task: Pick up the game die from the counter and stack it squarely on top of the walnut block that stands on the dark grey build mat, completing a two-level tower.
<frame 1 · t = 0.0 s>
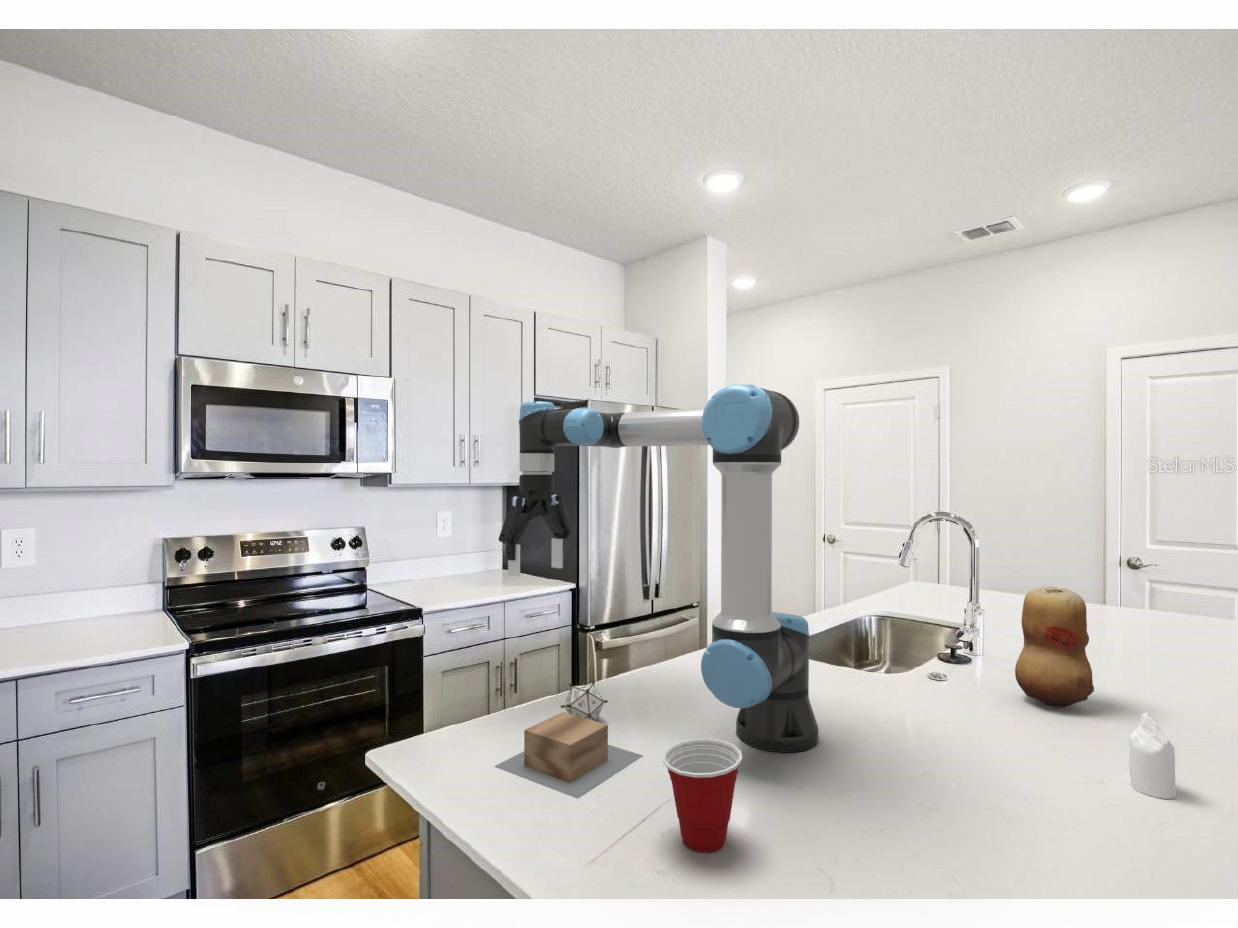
hand: (536, 571, 141), 28 cm above the counter, tool pointing down, fingers open, 13 cm apart
plastic cup: (701, 842, 88), on the counter
game die: (583, 725, 128), on the counter
walnut block: (566, 762, 110), point 1 cm above the counter, touching build mat
butternut squash: (1053, 705, 139), on the counter
build mat: (570, 764, 111), on the counter
white pouch: (1151, 791, 103), on the counter
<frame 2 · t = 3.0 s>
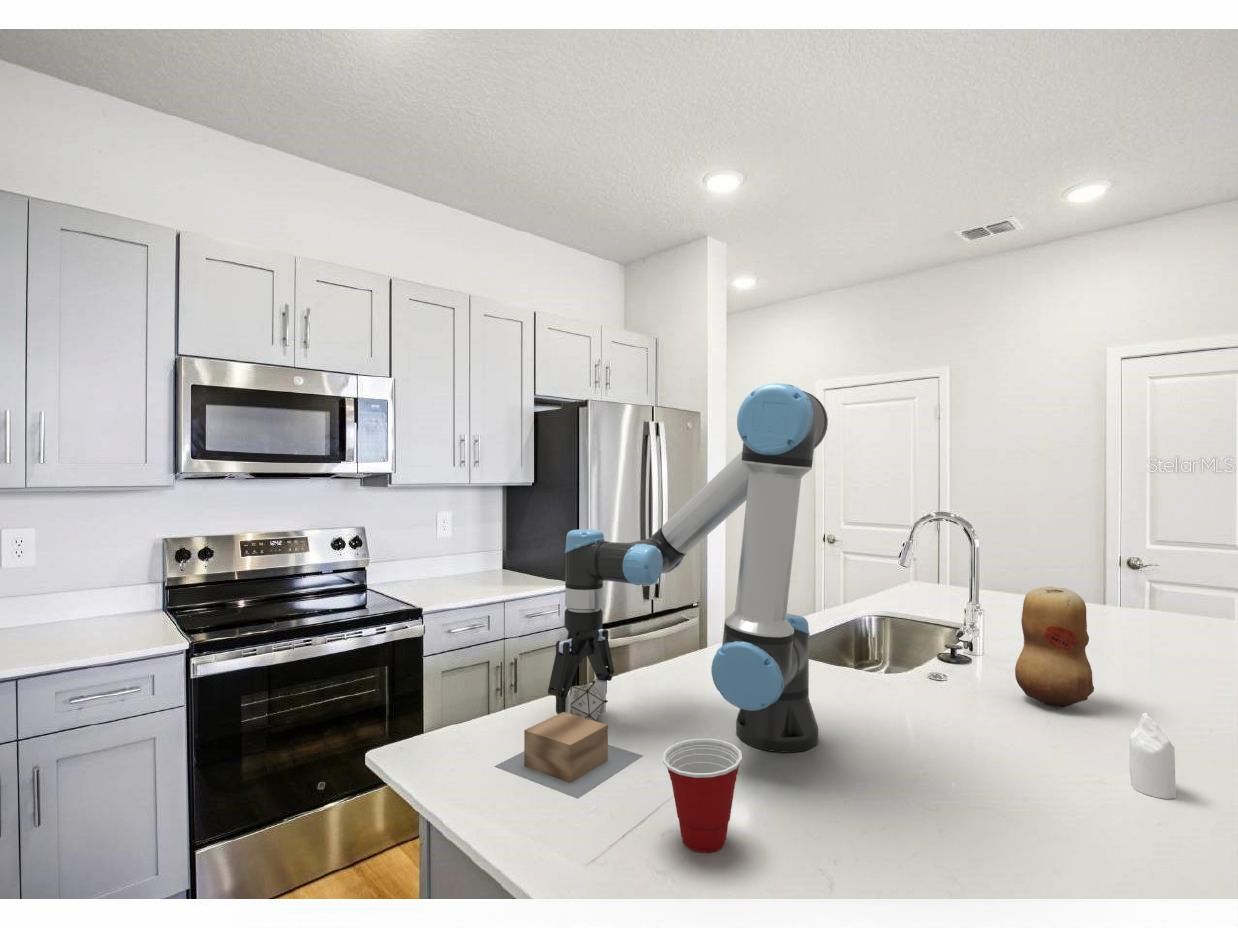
hand: (582, 720, 128), 1 cm above the counter, tool pointing down, fingers open, 11 cm apart
nothing on the counter moved.
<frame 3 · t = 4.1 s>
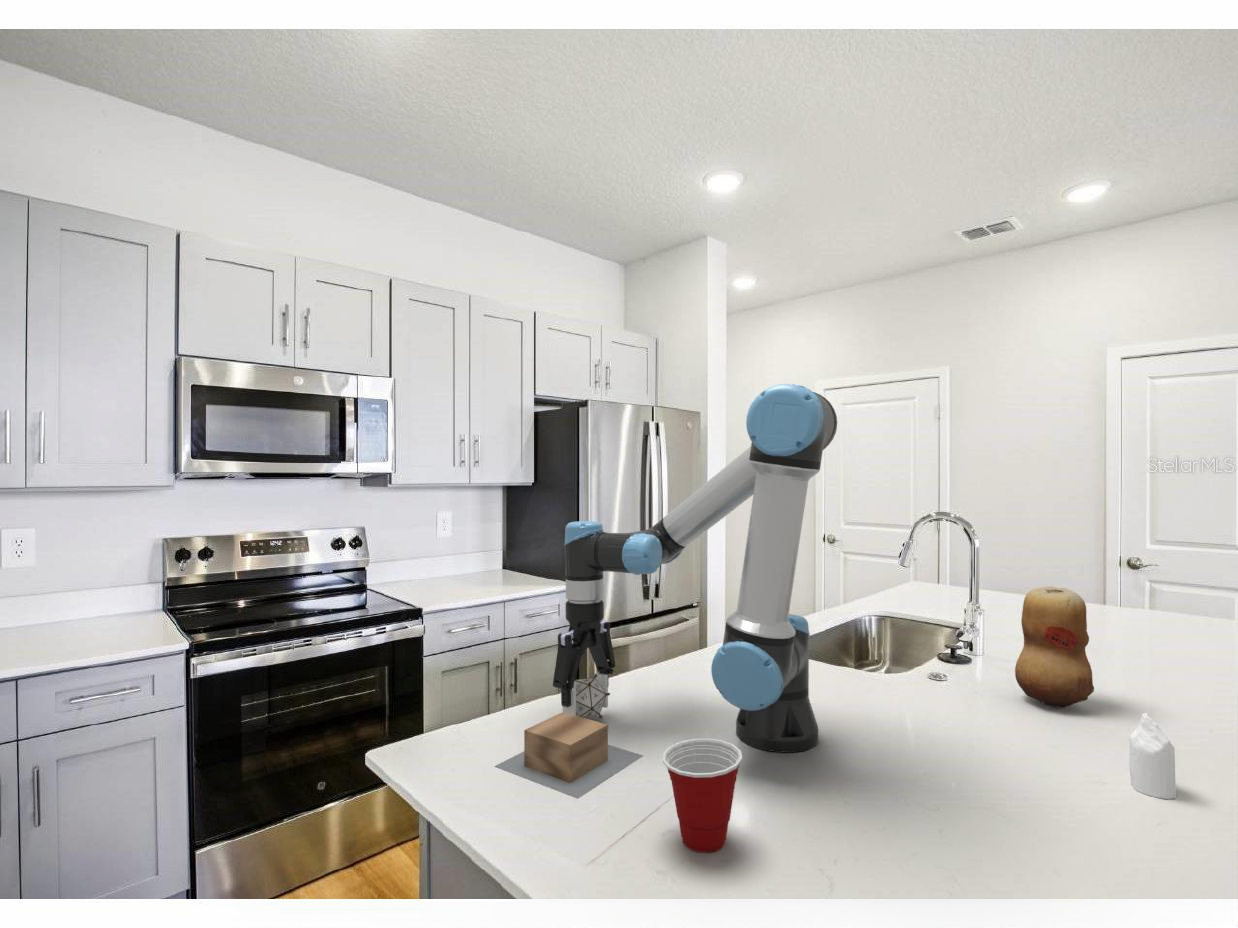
hand: (586, 713, 128), 2 cm above the counter, tool pointing down, fingers closed on game die, 9 cm apart
game die: (587, 718, 128), point 1 cm above the counter, touching gripper
everything else where it was.
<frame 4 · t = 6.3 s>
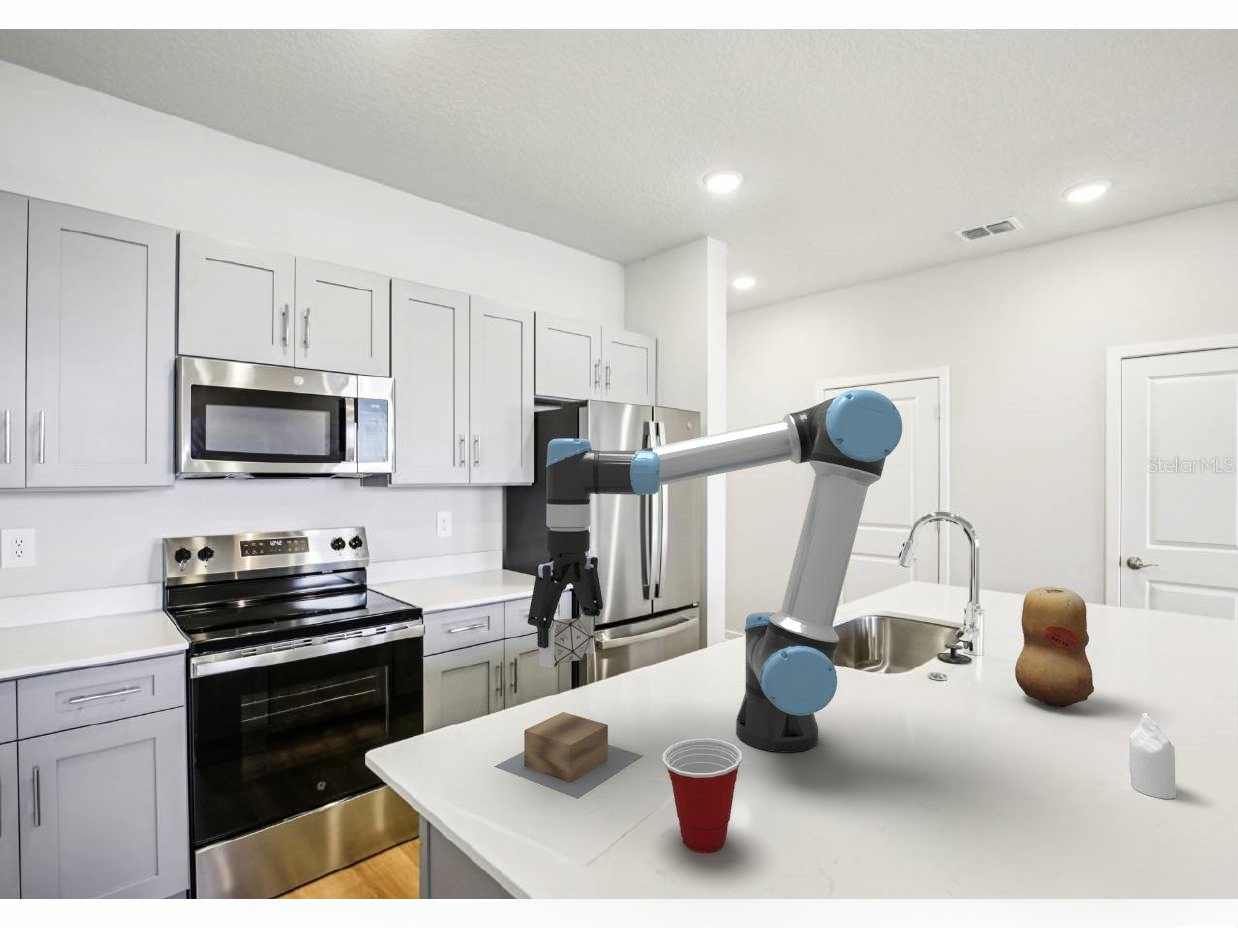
hand: (567, 659, 111), 18 cm above the counter, tool pointing down, fingers closed on game die, 9 cm apart
game die: (567, 664, 112), point 17 cm above the counter, touching gripper
everything else where it was.
when the fingers open (8 cm above the counter, at t = 8.7 s): game die stays where it is, resting on walnut block.
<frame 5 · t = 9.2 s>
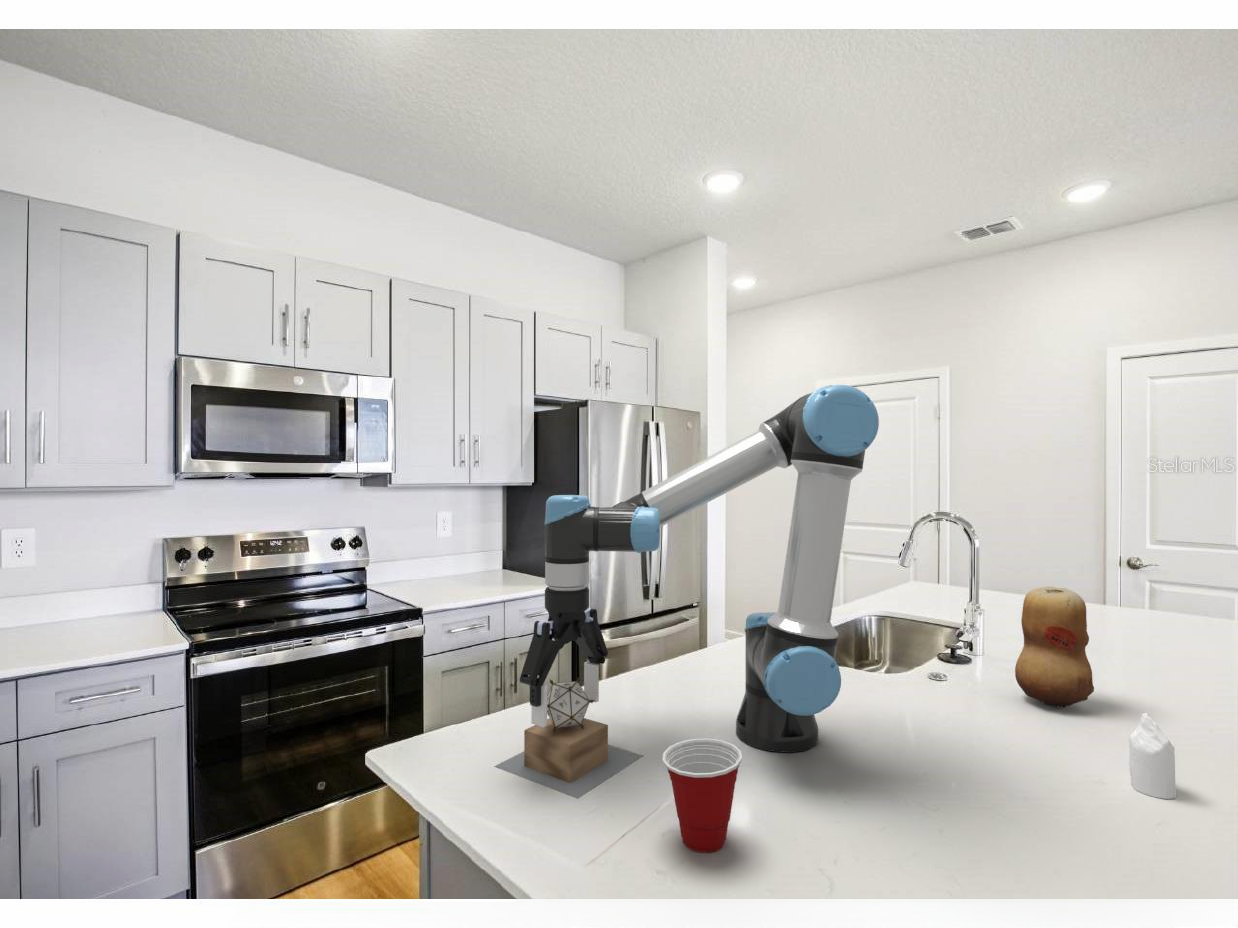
hand: (566, 711, 110), 9 cm above the counter, tool pointing down, fingers open, 13 cm apart
game die: (566, 728, 110), point 6 cm above the counter, touching walnut block
walnut block: (566, 762, 110), point 1 cm above the counter, touching build mat, game die
everything else where it was.
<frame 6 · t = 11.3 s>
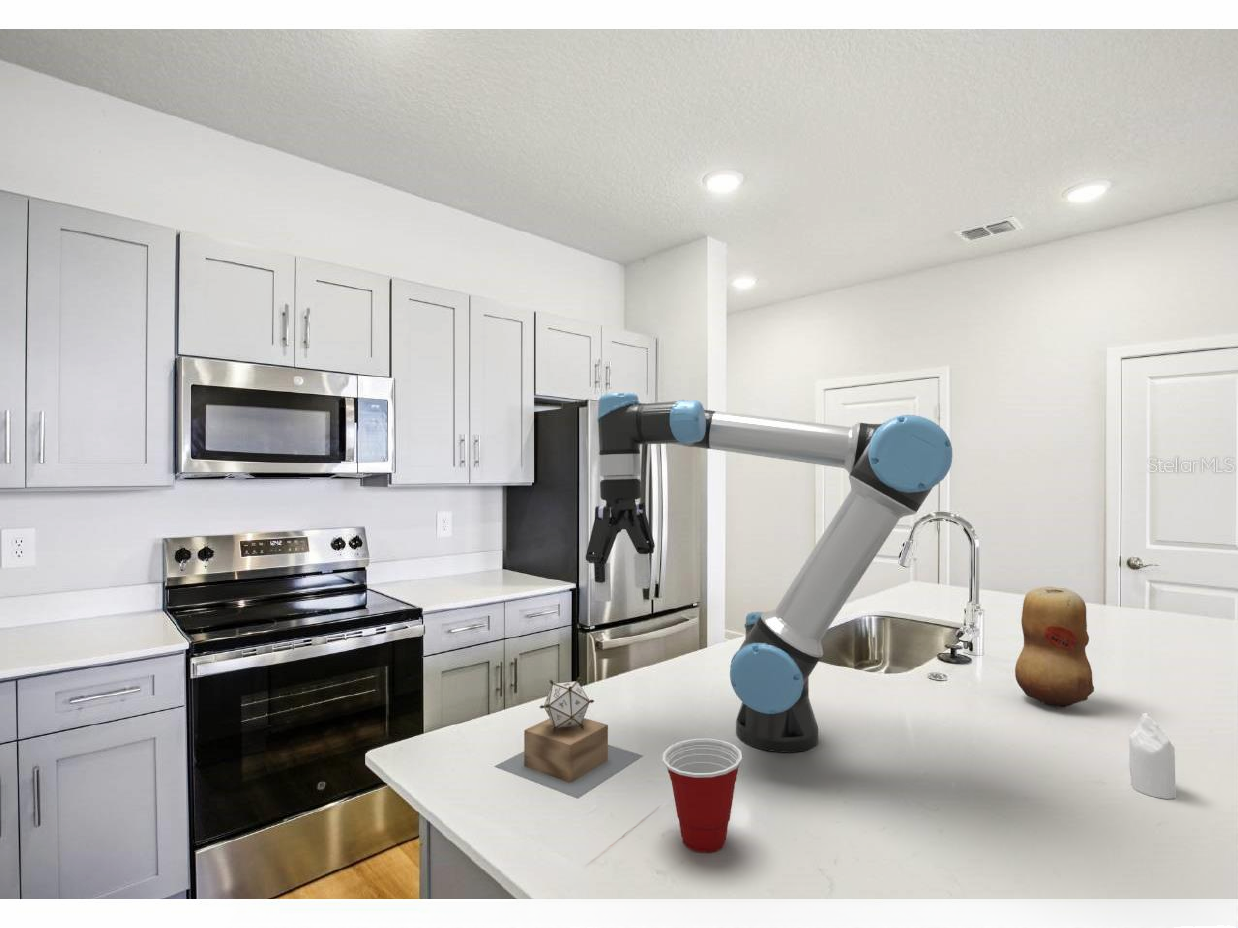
hand: (623, 594, 119), 27 cm above the counter, tool pointing down, fingers open, 13 cm apart
nothing on the counter moved.
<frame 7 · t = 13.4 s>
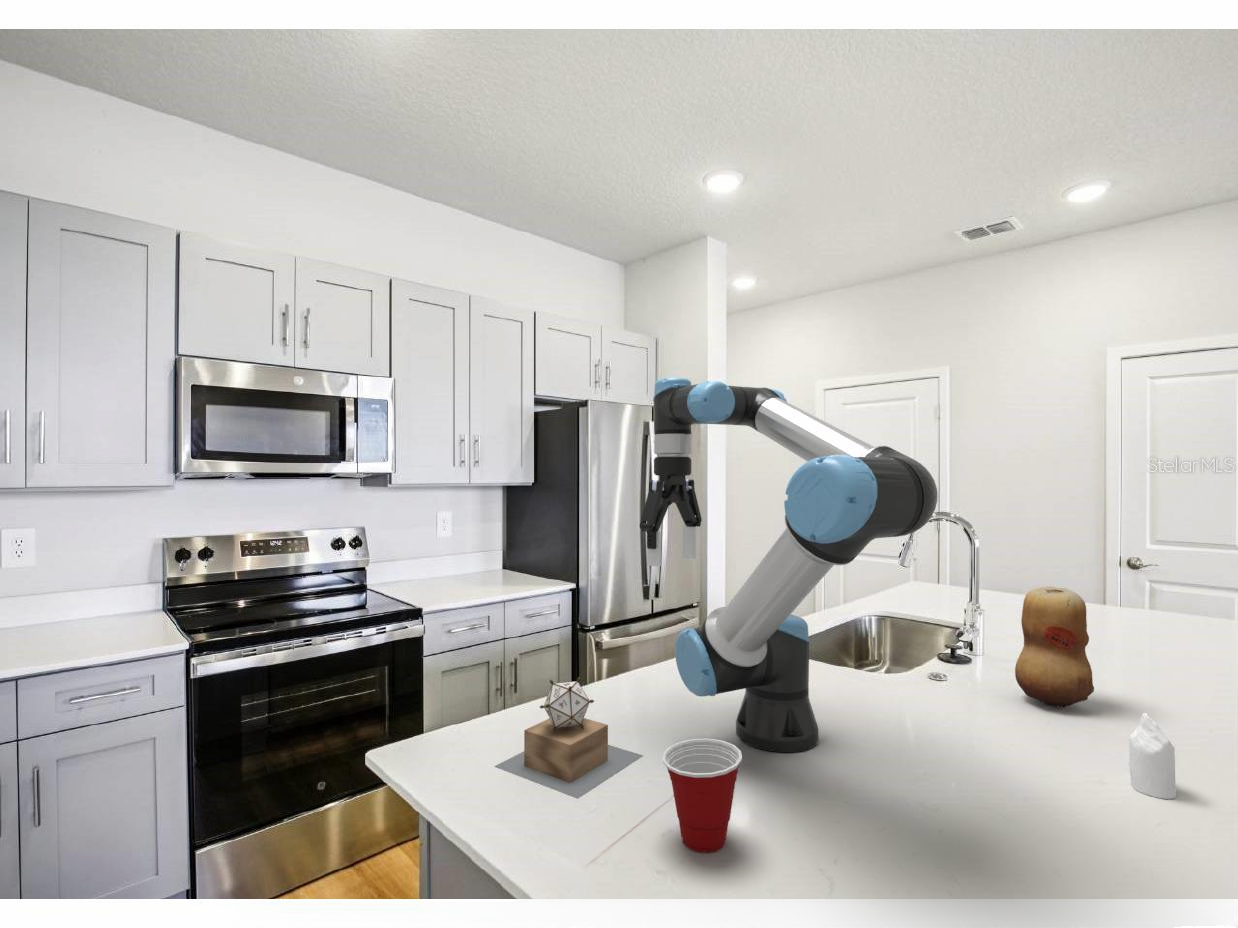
hand: (672, 561, 131), 32 cm above the counter, tool pointing down, fingers open, 13 cm apart
nothing on the counter moved.
at the end: game die 0.1 cm from the walnut block (horizontally); game die point 6.4 cm above the counter; walnut block moved 0.0 cm from its start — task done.
